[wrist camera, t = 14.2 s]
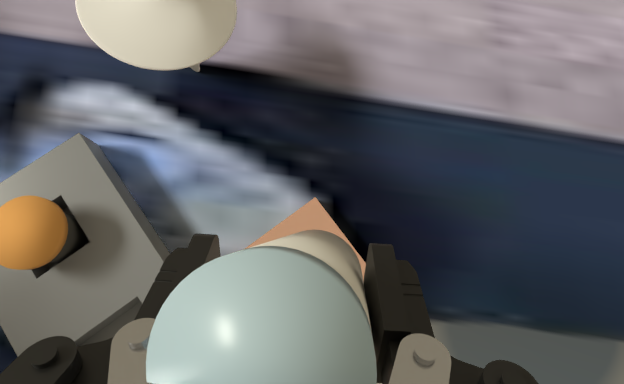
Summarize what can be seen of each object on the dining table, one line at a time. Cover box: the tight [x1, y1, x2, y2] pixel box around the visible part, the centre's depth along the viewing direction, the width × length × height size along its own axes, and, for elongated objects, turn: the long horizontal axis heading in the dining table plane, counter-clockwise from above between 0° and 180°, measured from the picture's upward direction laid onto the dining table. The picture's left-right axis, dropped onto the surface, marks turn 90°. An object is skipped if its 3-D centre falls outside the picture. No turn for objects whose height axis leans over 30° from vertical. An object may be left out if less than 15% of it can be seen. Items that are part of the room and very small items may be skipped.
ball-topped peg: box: [146, 230, 377, 384], centre depth 14 cm, size 5×5×12 cm
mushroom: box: [75, 0, 237, 72], centre depth 31 cm, size 10×11×12 cm
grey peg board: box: [0, 133, 170, 356], centre depth 31 cm, size 12×22×3 cm, turn 37°
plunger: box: [0, 195, 86, 270], centre depth 30 cm, size 5×5×4 cm
